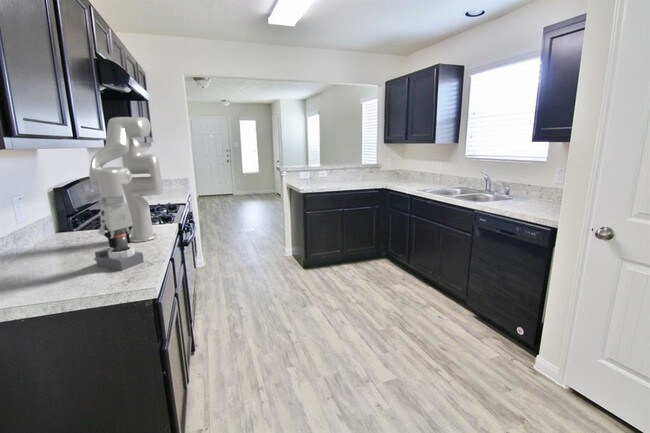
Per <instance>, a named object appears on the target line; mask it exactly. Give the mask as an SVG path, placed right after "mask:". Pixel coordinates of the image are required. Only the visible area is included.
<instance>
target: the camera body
mask: <svg viewBox="0 0 650 433" xmlns="http://www.w3.org/2000/svg"><path fill="white" fill-rule="evenodd" d="M128 249H129V250H126V251H121V252H114V250H113V248H112V247H110V246H109V247H106V248H104V249H100V250H98V251H95V252H94V255H95V261H96V266H97V267H99V268H105V269H111V270H116V271H124V270H127V269H129V268H132V267H134V266H136V265H139V264H141V263H144V262H145V259H144V255H143V252H142V251H140V252H139V251H136V250H135V247H134V245H128Z"/></svg>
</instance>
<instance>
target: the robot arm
mask: <svg viewBox="0 0 650 433" xmlns="http://www.w3.org/2000/svg"><path fill="white" fill-rule="evenodd" d="M151 126H152V125H151V122H150V120H149V119H148V118H147V117H145V116H116V117H112V118H110V119H109V120H108V122H107V126H106V138H105V145H104V146H103V147H102V148H100V150H98V151H97V152H95V154H94V155H93V157H92V159H91V160H90V165H89V175H88V176H89V180H90V183H91V185H93V186H95V187H98V190H99V195H100V199H99V200H98V204H101V205H100V210H99V212H100V213H99V214H100V224H101V226H100V227H99V229H98V232H97V233H99V234H100V235H102V236H104V237H105V238H106V239H107V240H108V246H109V247H112V248H116V247H117V244H116V239H115V238H114V231H116V230H120V229H123V228H125V230H126V236H127V243H128V244H131V242H133V243H141V242H147V241H153V240H155V239H156V238H157V237H158V235H157V233H155V232H154V229H153V223H152V217H151V216H152V215H151V210H150V204H149V202H148V200H147V199H145V198H144V197H145V196H146V197H147V196H158V195H160V194H162V192H163V183H162V176H161V166H160V161H159V158H158V157H157V156H156V155H155V154H152V153H151V154H150V153H148V154H142V148H141V144H140V142H139V141H138V139H136V138H145V137H147V136H149V135H150V133H151V129H152V128H151ZM120 158H121V160H122V166H108V167H106V166H105V165H106V164H107V163H109V162H111V161H114V160H117V159H120ZM104 166H105V167H104ZM145 174H149V175H150V176H132V175H145ZM124 198H125V199H126V200H125V199H124Z"/></svg>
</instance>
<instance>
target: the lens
mask: <svg viewBox="0 0 650 433" xmlns="http://www.w3.org/2000/svg"><path fill="white" fill-rule="evenodd" d="M114 238H115V239H116V244H117V247H116V248H113V250H114V252H121V251H126V250H129V249H128V246H129V243H127V236H126V230H125V228H123V229H120V230H116V231H114Z"/></svg>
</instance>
